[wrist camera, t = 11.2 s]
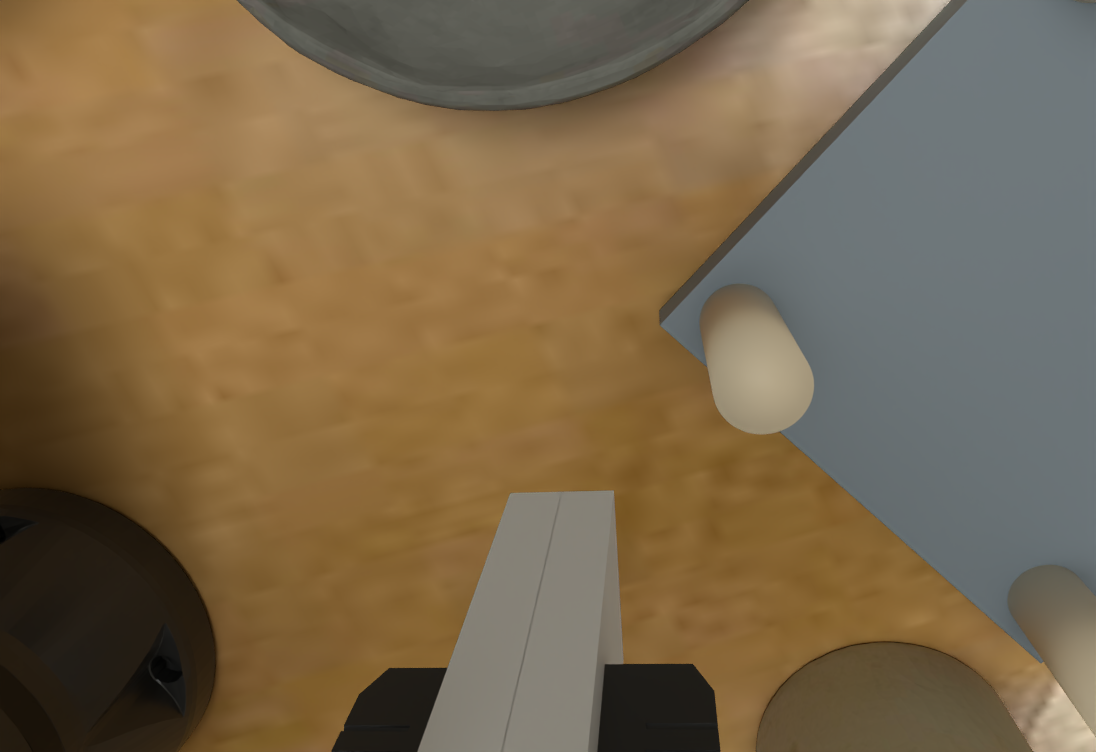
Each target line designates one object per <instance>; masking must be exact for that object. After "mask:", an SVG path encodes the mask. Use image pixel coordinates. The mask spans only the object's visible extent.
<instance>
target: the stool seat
mask: <svg viewBox="0 0 1096 752" xmlns="http://www.w3.org/2000/svg"><path fill="white" fill-rule="evenodd" d="M659 316H660V326H661V327H662V328H663V329H665V330H666V331H667V332H668V333H669V334H670V335H671V336H672V337H674V338H675V339H676V340H677V341H678V342H679V343H680V344H681V345H683V346H684V347H685V348H686V349H687V350H688V351H689V352H691V353H692V354H693V355H694V356H695V357H696V358H697V359H698V360H700V361H701V362H702V363H703V364H704V365H705V366H706V367H707V368H708V372H709V378H710V383H711V388H712V393H713V397H714V401H715V404H716V407H717V409H718V410H719V412H720V414H721V415H722V416H723V417H724V418H725V419H726V420H727V422H729V423H730V424H731V425H733V426H734V427H736V428H738V429H740V430H742V431H744V432H748V433H753V434H771V433H776V432H779V431H780V432H781V433H782V434H783V435H784V436H785V437H786V438H787V439H789V440H790V441H791V442H792V443H793V444H794V445H795V446H796V447H798V448H799V449H800V450H801V451H802V452H803V453H804V454H805V455H807V456H808V457H809V458H810V459H811V460H812V461H813V462H814V463H816V464H817V465H818V466H819V467H820V468H821V469H822V470H824V471H825V472H826V473H827V474H828V475H829V476H830V477H831V478H833V479H834V480H835V481H836V482H837V483H838V484H839V485H840V486H842V487H843V488H844V489H845V490H846V491H847V492H848V493H849V494H851V495H852V496H853V497H854V498H855V499H856V500H857V501H858V502H860V503H861V504H862V505H863V506H864V507H865V508H866V509H867V510H869V511H870V512H871V513H872V514H873V515H874V516H875V517H876V518H878V519H879V520H880V521H881V522H882V523H883V524H884V525H885V526H887V527H888V528H889V529H890V530H891V531H892V532H893V533H895V534H896V535H897V536H898V537H899V538H900V539H901V540H902V541H904V542H905V543H906V544H907V545H908V546H909V547H910V548H911V549H913V550H914V551H915V552H916V553H917V554H918V555H919V556H920V557H922V558H923V559H924V560H925V561H926V562H927V563H928V564H929V565H931V566H932V567H933V568H934V569H935V570H936V571H937V572H938V573H940V574H941V575H942V576H943V577H944V578H945V579H946V580H947V581H949V582H950V583H951V584H952V585H953V586H954V587H955V588H957V589H958V590H959V591H960V592H961V593H962V594H963V595H964V596H966V597H967V598H968V599H969V600H970V601H971V602H972V603H973V604H975V605H976V606H977V607H978V608H979V609H980V610H981V611H982V612H984V613H985V614H986V615H987V616H988V617H989V618H990V619H991V620H993V621H994V622H995V623H996V624H997V625H998V626H999V627H1000V628H1002V629H1003V630H1004V631H1005V632H1006V633H1007V634H1008V635H1009V636H1011V637H1012V638H1013V639H1014V640H1015V641H1016V642H1017V643H1018V644H1020V645H1021V646H1022V647H1023V648H1024V649H1025V650H1026V651H1028V652H1029V653H1030V654H1031V655H1032V656H1033V657H1034V658H1035V659H1037V660H1038V661H1039V662H1040V663H1042V662H1044V663H1045V664H1046V666H1047V667H1048V669H1049V670H1050V671H1051V673H1052V674H1053V676H1054V677H1055V679H1056V680H1057V682H1058V683H1059V685H1060V686H1061V687H1062V689H1063V690H1064V692H1065V693H1066V695H1067V696H1068V698H1069V699H1070V701H1071V702H1072V703H1073V705H1074V706H1075V708H1076V709H1077V711H1078V712H1079V714H1080V715H1081V717H1082V718H1083V719H1084V721H1085V722H1086V724H1087V725H1088V727H1089V728H1090V730H1091V731H1092V732H1093V734H1094V735H1095V737H1096V0H951V1H950V2H949V3H948V5H947V6H946V7H945V8H944V9H943V10H942V11H941V12H940V13H939V14H938V15H937V16H936V17H935V18H934V19H933V20H932V22H931V23H930V24H929V25H928V26H927V27H926V28H925V29H924V30H923V31H922V32H921V33H920V34H919V35H918V36H917V37H916V39H915V40H914V41H913V42H912V43H911V44H910V45H909V46H908V47H907V48H906V49H905V50H904V51H903V52H902V53H901V54H900V56H899V57H898V58H897V59H896V60H895V61H894V62H893V63H892V64H891V65H890V66H889V67H888V68H887V69H886V70H885V71H884V73H883V74H882V75H881V76H880V77H879V78H878V79H877V80H876V81H875V82H874V83H873V84H872V85H871V86H870V87H869V88H868V90H867V91H866V92H865V93H864V94H863V95H862V96H861V97H860V98H859V99H858V100H857V101H856V102H855V103H854V104H853V105H852V107H851V108H850V109H849V110H848V111H847V112H846V113H845V114H844V115H843V116H842V117H841V118H840V119H839V120H838V121H837V122H836V123H835V125H834V126H833V127H832V128H831V129H830V130H829V131H828V132H827V133H826V134H825V135H824V136H823V137H822V138H821V139H820V140H819V142H818V143H817V144H816V145H815V146H814V147H813V148H812V149H811V150H810V151H809V152H808V153H807V154H806V155H805V156H804V157H803V159H802V160H801V161H800V162H799V163H798V164H797V165H796V166H795V167H794V168H793V169H792V170H791V171H790V172H789V173H788V174H787V176H786V177H785V178H784V179H783V180H782V181H781V182H780V183H779V184H778V185H777V186H776V187H775V188H774V189H773V190H772V191H771V193H770V194H769V195H768V196H767V197H766V198H765V199H764V200H763V201H762V202H761V203H760V204H759V205H758V206H757V207H756V208H755V210H754V211H753V212H752V213H751V214H750V215H749V216H748V217H747V218H746V219H745V220H744V221H743V222H742V223H741V224H740V225H739V227H738V228H737V229H736V230H735V231H734V232H733V233H732V234H731V235H730V236H729V237H728V238H727V239H726V240H725V241H724V242H723V244H722V245H721V246H720V247H719V248H718V249H717V250H716V251H715V252H714V253H713V254H712V255H711V256H710V257H709V258H708V259H707V261H706V262H705V263H704V264H703V265H702V266H701V267H700V268H699V269H698V270H697V271H696V272H695V273H694V274H693V275H692V276H691V278H690V279H689V280H688V281H687V282H686V283H685V284H684V285H683V286H682V287H681V288H680V289H679V290H678V291H677V292H676V293H675V295H674V296H673V297H672V298H671V299H670V300H669V301H668V302H667V303H666V304H665V305H664V306H663V307H662V308H661V309H660V310H659Z"/></svg>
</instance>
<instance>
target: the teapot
mask: <svg viewBox="0 0 1096 752" xmlns="http://www.w3.org/2000/svg"><path fill="white" fill-rule="evenodd" d="M756 752H1033V751H1032V749H1031V747H1030V746H1029V744H1028V743H1027V741H1026V740H1025V738H1024V736H1023V735H1022V733H1021V732H1020V730H1019V728H1018V727H1017V725H1016V724H1015V722H1014V720H1013V719H1012V717H1011V716H1010V714H1009V712H1008V711H1007V709H1006V707H1005V706H1004V704H1003V703H1002V701H1001V699H1000V698H999V696H998V695H997V694H996V692H995V691H994V690H993V689H992V687H991V686H990V685H989V684H988V683H986V682H985V681H984V680H983V679H982V678H981V677H980V676H979V675H978V674H977V673H976V672H974V671H973V670H972V669H970V668H969V667H967V666H966V665H964V664H962V663H961V662H959V661H958V660H956V659H954V658H953V657H950V656H948V655H946V654H943V653H941V652H939V651H936V650H933V649H929V648H926V647H922V646H917V645H912V644H905V643H895V642H876V643H868V644H861V645H854V646H850V647H846V648H843V649H840V650H837V651H834V652H831V653H829V654H827V655H825V656H823V657H821V658H819V659H817V660H815V661H813V662H811V663H809V664H807V665H806V666H804V667H803V668H802V669H800V670H799V671H798V672H796V673H795V674H794V675H793V676H791V677H790V678H789V679H788V680H787V681H786V683H785V684H784V685H783V686H782V687H781V688H780V689H779V690H778V692H777V693H776V695H775V696H774V698H773V699H772V701H771V702H770V704H769V706H768V707H767V709H766V711H765V713H764V716H763V718H762V721H761V724H760V727H759V731H758V736H757V746H756Z"/></svg>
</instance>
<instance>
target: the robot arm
mask: <svg viewBox="0 0 1096 752" xmlns="http://www.w3.org/2000/svg"><path fill="white" fill-rule="evenodd" d="M214 675H215V651H214V643H213V637H212V632H211V628H210V625H209V621H208V618H207V615H206V612H205V610H204V607H203V605H202V603H201V600H200V598H199V596H198V595H197V593H196V591H195V589H194V587H193V585H192V584H191V582H190V580H189V579H188V577H187V576H186V574H185V573H184V572H183V570H182V569H181V567H180V566H179V565H178V564H177V562H176V561H175V560H174V559H173V558H172V556H171V555H170V554H169V553H168V552H167V551H166V550H165V549H164V548H163V547H162V546H161V545H160V544H159V543H158V542H157V541H156V540H155V539H154V538H152V537H151V536H150V535H149V534H148V533H147V532H145V531H144V530H143V529H141V528H140V527H139V526H137V525H136V524H135V523H133V522H132V521H130V520H129V519H127V518H125V517H124V516H122V515H120V514H119V513H117V512H115V511H113V510H111V509H109V508H107V507H105V506H103V505H101V504H99V503H96V502H94V501H91V500H89V499H86V498H83V497H80V496H77V495H73V494H69V493H66V492H61V491H55V490H49V489H41V488H14V489H4V490H0V752H178V751H179V750H180V748H181V747H182V746H183V744H184V743H185V741H186V740H187V739H188V737H189V736H190V735H191V733H192V732H193V730H194V729H195V728H196V726H197V725H198V723H199V721H200V720H201V718H202V716H203V714H204V712H205V710H206V707H207V705H208V702H209V699H210V696H211V692H212V688H213V682H214ZM332 752H720V743H719V733H718V724H717V714H716V704H715V694H714V690H713V689H712V688H711V686H710V685H709V684H708V683H707V681H706V680H705V679H704V677H703V676H702V675H701V674H700V672H699V671H698V670H697V669H696V667H695V666H694V665H693V664H623V643H622V625H621V608H620V590H619V573H618V555H617V537H616V520H615V502H614V490H612V491H573V492H534V493H510V496H509V498H508V501H507V504H506V507H505V509H504V512H503V515H502V518H501V521H500V523H499V526H498V529H497V532H496V535H495V537H494V540H493V543H492V546H491V548H490V551H489V554H488V557H487V560H486V562H485V565H484V568H483V571H482V573H481V576H480V579H479V582H478V585H477V587H476V590H475V593H474V596H473V599H472V601H471V604H470V607H469V610H468V612H467V615H466V618H465V621H464V624H463V626H462V629H461V632H460V635H459V637H458V640H457V643H456V646H455V649H454V651H453V654H452V657H451V660H450V663H449V665H448V668H389V669H388V670H387V671H385V672H384V673H383V674H382V675H381V676H380V677H379V678H377V679H376V680H375V681H374V682H373V683H372V684H371V685H369V686H368V687H367V688H366V689H365V690H364V691H363V692H361V693H360V694H359V696H358V698H357V700H356V702H355V704H354V706H353V708H352V710H351V712H350V714H349V716H348V718H347V720H346V722H345V724H344V731H341V732H340V735H339V737H338V739H337V741H336V743H335V745H334V747H333V749H332Z"/></svg>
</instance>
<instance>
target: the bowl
mask: <svg viewBox="0 0 1096 752" xmlns="http://www.w3.org/2000/svg"><path fill="white" fill-rule="evenodd" d="M237 1H238V2H239V3H240V4H241V5H242V6H243V7H244V8H246V9H247V10H248V11H249V12H250V13H251V14H252V15H253V16H254V17H255V18H256V19H257V20H258V21H259V22H260V23H261V24H263V25H264V26H265V27H266V28H268V29H269V30H270V31H271V32H273V33H274V34H275V35H277V36H278V37H279V38H280V39H281V40H283V41H284V42H285V43H286V44H287V45H288V46H290V47H291V48H293V49H294V50H296V51H297V52H299V53H300V54H302V55H304V56H305V57H307V58H309V59H311V60H313V61H315V62H316V63H318V64H320V65H322V66H324V67H326V68H327V69H329V70H331V71H333V72H335V73H337V74H339V75H341V76H344V77H346V78H348V79H350V80H353V81H355V82H358V83H361V84H363V85H366V86H369V87H371V88H374V89H377V90H379V91H382V92H385V93H387V94H390V95H393V96H395V97H398V98H402V99H406V100H409V101H413V102H417V103H421V104H425V105H431V106H437V107H444V108H450V109H456V110H486V111H499V110H523V109H530V108H536V107H542V106H547V105H553V104H559V103H563V102H567V101H571V100H574V99H578V98H581V97H584V96H587V95H590V94H593V93H596V92H599V91H602V90H605V89H608V88H611V87H613V86H616V85H618V84H621V83H623V82H626V81H628V80H631V79H633V78H635V77H637V76H639V75H641V74H643V73H645V72H647V71H648V70H650V69H652V68H654V67H656V66H658V65H660V64H661V63H663V62H665V61H666V60H668V59H670V58H671V57H673V56H675V55H676V54H678V53H680V52H681V51H683V50H684V49H686V48H687V47H688V46H690V45H691V44H693V43H694V42H696V41H697V40H699V39H700V38H702V37H703V36H705V35H706V34H708V33H709V32H711V31H712V30H714V29H715V28H717V27H718V26H719V25H721V24H722V23H723V22H725V21H726V20H727V19H728V18H729V17H730V16H732V15H733V14H734V13H735V12H736V11H738V10H739V9H740V8H741V7H742V6H743V5H744V4H745V3H746V2H747V1H749V0H237Z"/></svg>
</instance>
